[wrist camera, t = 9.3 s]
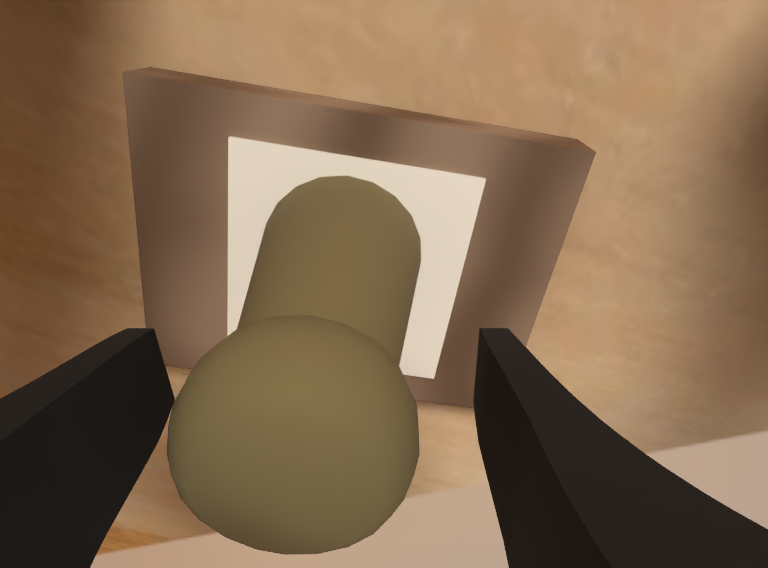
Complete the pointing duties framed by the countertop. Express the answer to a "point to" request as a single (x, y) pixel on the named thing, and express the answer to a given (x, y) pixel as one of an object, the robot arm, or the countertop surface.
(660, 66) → the countertop surface
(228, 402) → the olive pawn piece
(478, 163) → the walnut plinth
